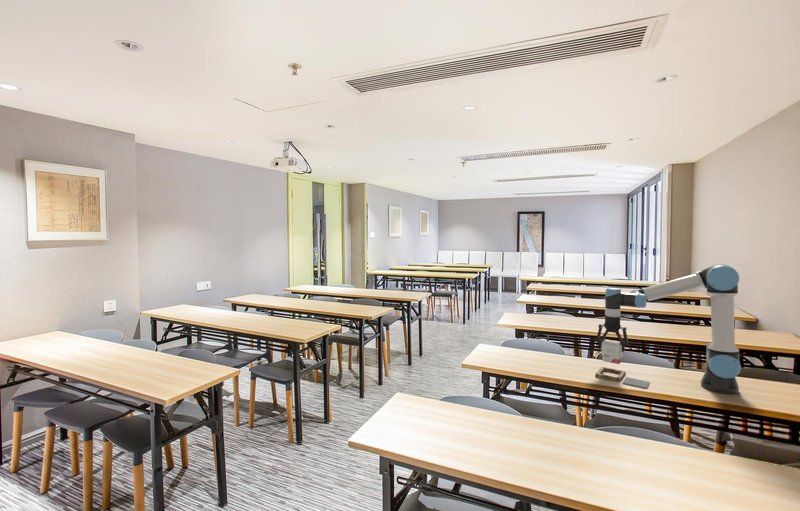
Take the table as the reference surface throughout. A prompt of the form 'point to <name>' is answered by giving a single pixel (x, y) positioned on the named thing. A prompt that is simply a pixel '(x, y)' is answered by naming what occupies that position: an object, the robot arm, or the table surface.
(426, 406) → the table surface
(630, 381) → the pad
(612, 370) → the frame
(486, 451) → the table surface
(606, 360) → the ink box
